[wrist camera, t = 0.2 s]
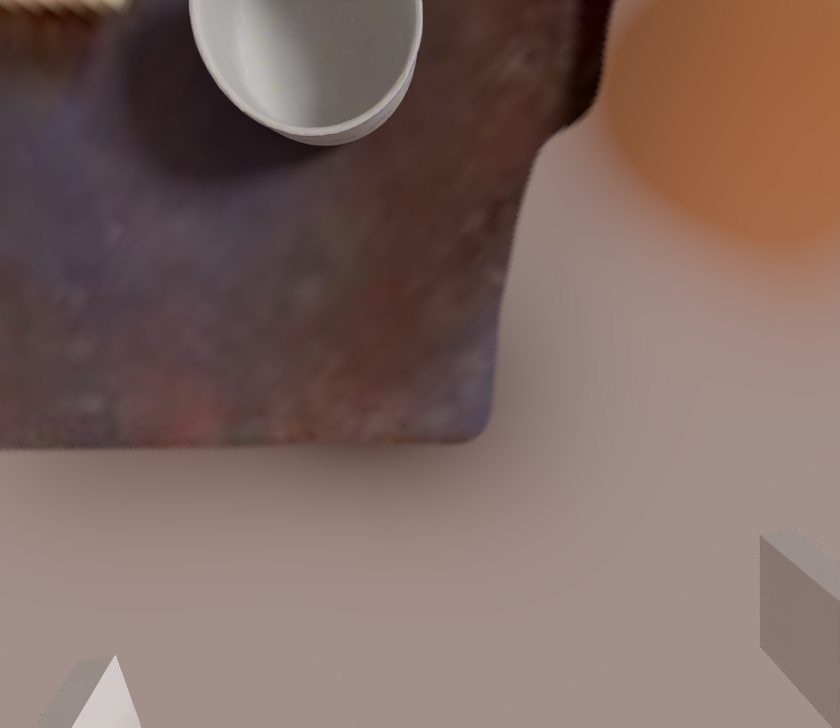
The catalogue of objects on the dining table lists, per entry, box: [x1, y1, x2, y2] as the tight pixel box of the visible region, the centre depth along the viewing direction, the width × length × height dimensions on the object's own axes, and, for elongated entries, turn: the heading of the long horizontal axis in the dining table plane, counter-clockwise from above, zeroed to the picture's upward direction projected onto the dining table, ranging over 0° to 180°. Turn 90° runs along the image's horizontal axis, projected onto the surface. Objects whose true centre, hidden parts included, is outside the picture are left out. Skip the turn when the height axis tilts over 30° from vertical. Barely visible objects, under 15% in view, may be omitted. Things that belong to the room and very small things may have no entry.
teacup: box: [189, 0, 423, 146], centre depth 30 cm, size 14×11×8 cm
